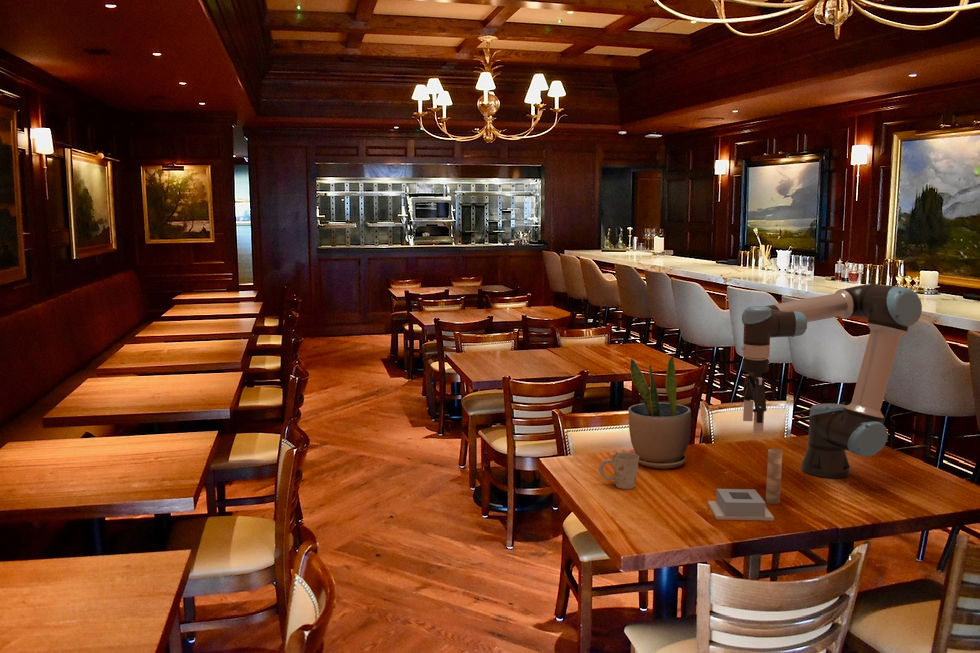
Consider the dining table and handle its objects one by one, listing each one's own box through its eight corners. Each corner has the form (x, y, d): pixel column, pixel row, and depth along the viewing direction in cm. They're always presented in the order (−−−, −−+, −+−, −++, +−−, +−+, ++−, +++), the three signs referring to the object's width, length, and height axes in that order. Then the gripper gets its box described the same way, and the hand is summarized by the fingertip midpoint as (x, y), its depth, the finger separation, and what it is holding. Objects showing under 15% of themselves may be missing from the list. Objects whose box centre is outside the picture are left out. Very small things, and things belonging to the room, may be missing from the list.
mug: (638, 491, 249) (638, 460, 247) (597, 488, 251) (598, 458, 250) (638, 482, 257) (639, 452, 255) (599, 480, 259) (600, 450, 258)
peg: (777, 499, 241) (780, 448, 239) (781, 504, 237) (784, 452, 235) (764, 499, 241) (766, 448, 239) (767, 504, 237) (770, 452, 235)
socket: (762, 505, 237) (762, 489, 236) (773, 520, 225) (774, 503, 224) (707, 504, 238) (708, 488, 237) (716, 519, 226) (717, 502, 225)
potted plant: (614, 461, 278) (616, 349, 272) (653, 449, 292) (656, 342, 286) (663, 476, 262) (667, 357, 256) (701, 463, 276) (706, 350, 270)
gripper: (734, 350, 250) (731, 416, 253) (752, 365, 226) (749, 438, 229) (758, 350, 250) (755, 416, 253) (779, 366, 225) (776, 438, 228)
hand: (752, 426), depth 241 cm, fingers open, 13 cm apart
